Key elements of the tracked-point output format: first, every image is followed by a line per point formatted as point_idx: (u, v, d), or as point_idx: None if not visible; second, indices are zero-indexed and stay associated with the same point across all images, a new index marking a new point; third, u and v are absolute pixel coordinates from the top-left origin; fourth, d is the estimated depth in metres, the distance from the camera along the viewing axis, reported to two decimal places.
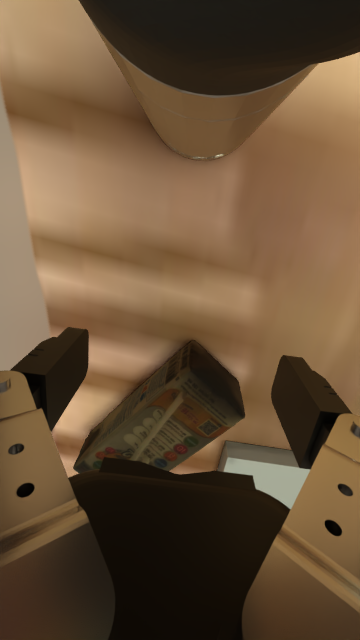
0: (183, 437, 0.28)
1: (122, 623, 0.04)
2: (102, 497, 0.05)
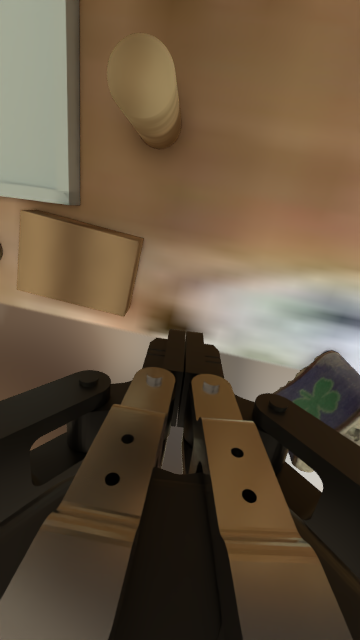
0: None
1: (121, 624, 0.04)
2: None
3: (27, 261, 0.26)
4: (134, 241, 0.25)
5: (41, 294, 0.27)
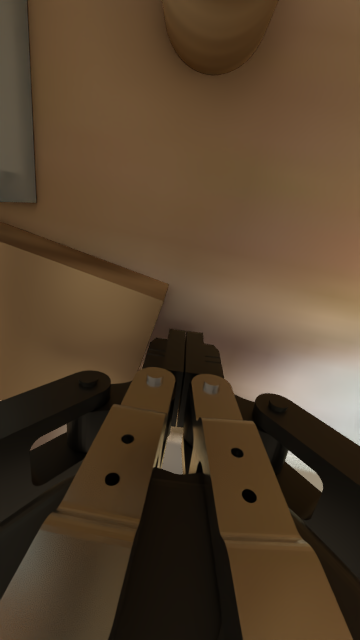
0: None
1: (121, 623, 0.04)
2: None
3: None
4: (153, 299, 0.11)
5: None
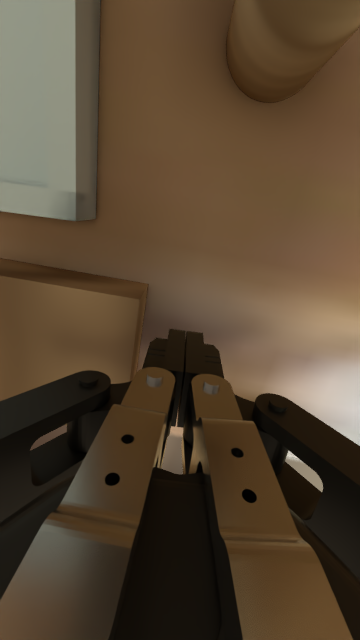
0: None
1: (121, 623, 0.04)
2: None
3: None
4: (130, 300, 0.12)
5: None
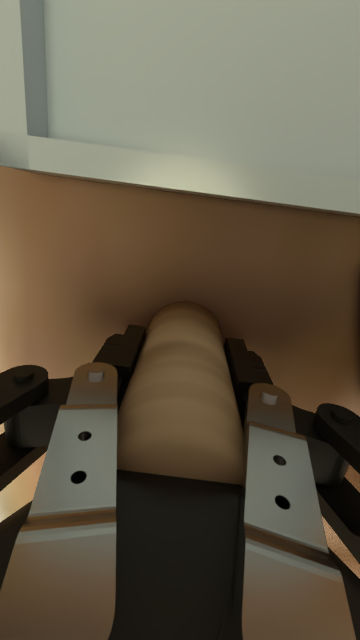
0: None
1: (122, 624, 0.04)
2: None
3: None
4: None
5: None
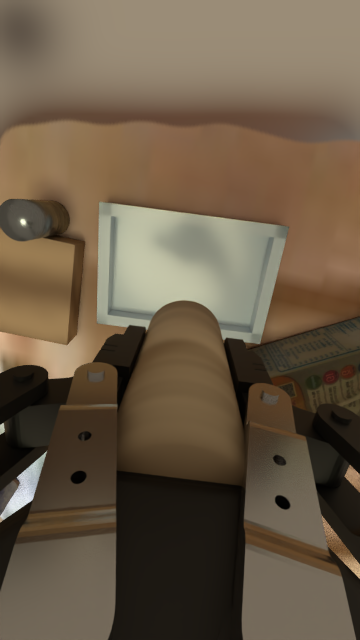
0: (316, 390, 0.26)
1: (122, 623, 0.04)
2: None
3: (27, 244, 0.26)
4: (66, 341, 0.29)
5: None
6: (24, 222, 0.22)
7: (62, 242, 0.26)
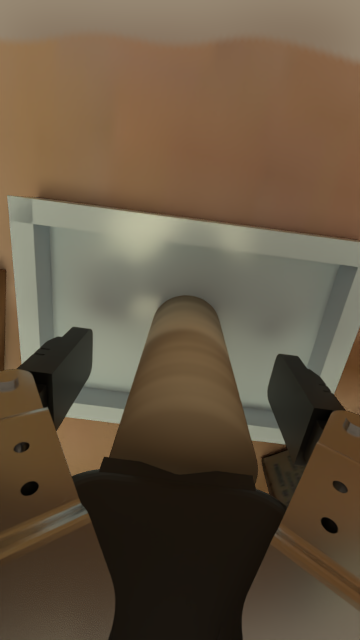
0: None
1: (122, 624, 0.04)
2: (102, 497, 0.05)
3: None
4: None
5: None
6: None
7: None
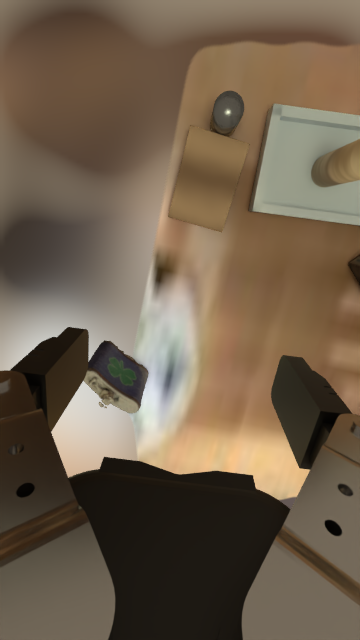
0: None
1: (121, 623, 0.04)
2: (102, 497, 0.05)
3: (212, 141, 0.33)
4: (222, 229, 0.36)
5: (186, 147, 0.33)
6: (233, 110, 0.29)
7: (240, 141, 0.33)
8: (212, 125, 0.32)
